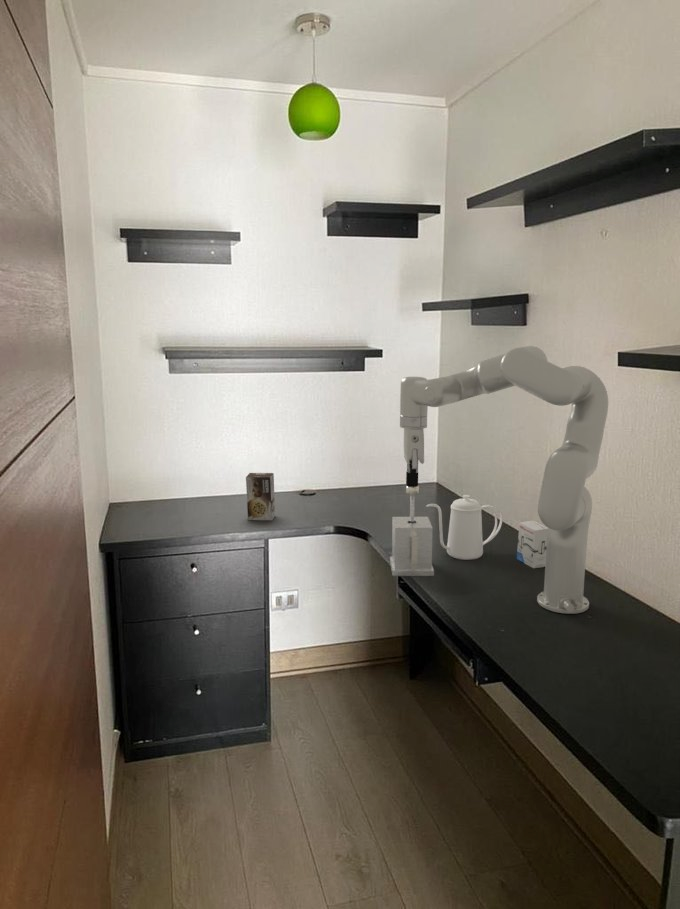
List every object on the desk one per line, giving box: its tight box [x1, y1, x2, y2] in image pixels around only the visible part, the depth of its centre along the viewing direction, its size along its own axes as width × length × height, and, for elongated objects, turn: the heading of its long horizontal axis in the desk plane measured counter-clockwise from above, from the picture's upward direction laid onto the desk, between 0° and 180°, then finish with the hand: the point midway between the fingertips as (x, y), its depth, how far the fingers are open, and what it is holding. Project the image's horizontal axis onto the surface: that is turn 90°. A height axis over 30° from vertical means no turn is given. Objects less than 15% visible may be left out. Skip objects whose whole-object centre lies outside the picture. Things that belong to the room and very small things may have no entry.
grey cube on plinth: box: [389, 516, 435, 577], centre depth 197 cm, size 14×12×14 cm
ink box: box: [516, 520, 548, 569], centre depth 202 cm, size 9×5×12 cm, turn 21°
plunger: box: [405, 484, 420, 523], centre depth 196 cm, size 7×7×18 cm
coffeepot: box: [425, 494, 504, 561], centre depth 208 cm, size 11×25×19 cm, turn 105°
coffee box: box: [245, 472, 276, 521], centre depth 247 cm, size 9×6×16 cm
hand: (412, 485), depth 195 cm, fingers closed
